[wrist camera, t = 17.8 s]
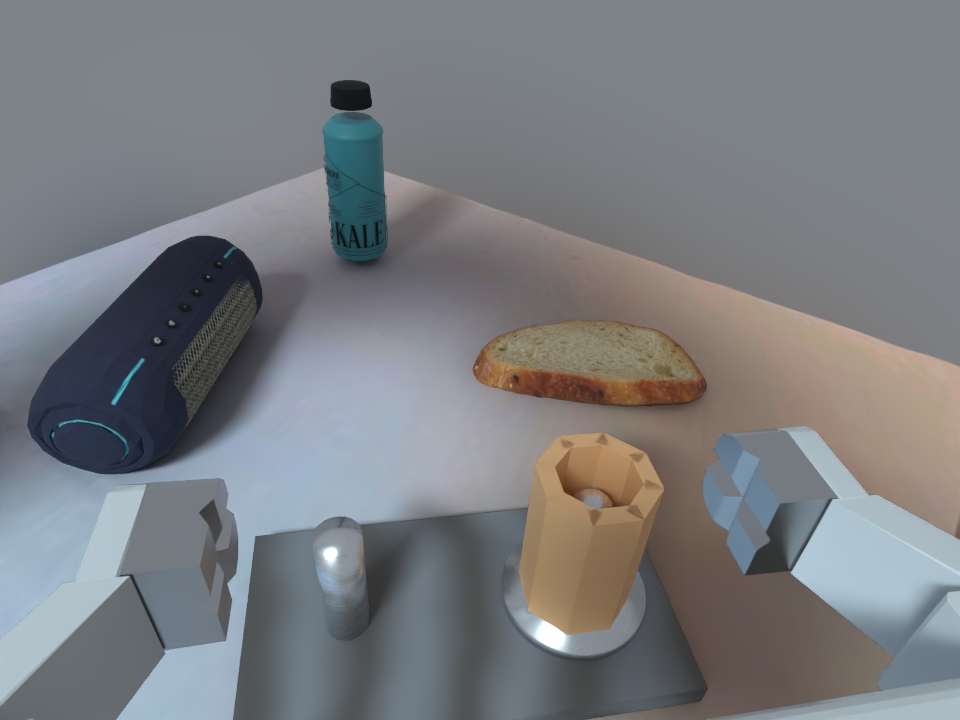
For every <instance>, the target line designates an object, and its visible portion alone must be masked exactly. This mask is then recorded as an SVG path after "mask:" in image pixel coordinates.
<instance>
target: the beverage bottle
mask: <svg viewBox="0 0 960 720" xmlns="http://www.w3.org/2000/svg"><path fill="white" fill-rule="evenodd" d="M330 101H331V106H332V107H334V108H336V109H339V110H347V111H357V110H364V109H367V108H370V107H371V106H372V99H371V94H370V87H369V85H368V84H367V83H365V82H361V81H354V80H343V81H337V82H334V83H333V84H332V85H331V100H330ZM322 130H323V135H324V146H325V161H326V167H325V170H326V172H327V179H326V180H327V183H326V184H327V185H328V194H329V202H328V203H329V204H328V205H330V206H329V207H330V212H329V213H330V216H331V229H330V232H331V231H332V232H331V233H332V236H331V239H333V243H331V244H333V246H332V247H334V250H335V252H336V254H337V255H338V256H340V257H342V258H344V259H348V260H354V261H364V260H371V259H374V258H377V257H379V256H381V255H382V254H383V253H384V252H385V249H386V247H387V245H388V244H387V242H388V241H386V230H387V229H386V227H387V226H386V221H387V217H386V212H385V192H384V167H383V138H382V135H383V129H382V127H381V125H380V124H379V123H378V122H377V121H376V120H375V119H373V118H372V117H371V116H370V115H367V114H364V113H358V112H345V113H339V114H336V115H334V116H333V117H331V118H330V119H329V120H328V121H327V122H326V123H325V125H324V126H323V129H322ZM325 175H326V174H325ZM325 178H326V177H325ZM386 204H387V203H386ZM330 216H329V218H330ZM329 222H330V219H329ZM387 232H388V230H387ZM387 237H388V236H387ZM387 240H388V239H387Z"/></svg>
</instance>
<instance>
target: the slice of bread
mask: <svg viewBox="0 0 960 720" xmlns="http://www.w3.org/2000/svg"><path fill="white" fill-rule="evenodd" d="M473 373H474V375H475V377H476V378H477V380H478V381H479V382H480V383H482V384H485V385H487V386H490V387H496V388H499V389H502V390H507V391H512V392H515V393H519V394H526V395H532V396H536V397H547V398H554V399H559V400H570V401H575V402H581V403H596V404H602V405H621V406H641V405H646V406H652V405H657V404H680V403H687V402H690V401H693V400H695V399H697V398H699V397H700V396H701V395H702V394H703V392H704V391H705V390H706V382H705V379H704V377H703V376H702V374H701V373H700V371H699V369H698V368H697V366H696V364H695V363H694V362H693V360H692V359H691V358H690V357H689V355H688V354H687V353H686V352H685V350H684V349H683V348H682V347H681V346H680V345H678V344H677V343H676V342H675V341H673V340H672V339H671V338H669V337H668V336H667V335H665V334H664V333H662V332H660V331H658V330H654V329H650V328H644V327H638V326H633V325H628V324H623V323H620V322H606V321H589V320H579V321H577V320H573V321H565V322H562V323H559V324H552V325H543V326H532V327H527V328H521V329H517V330H515V331H512V332H510V333H507V334H504V335H501V336H498V337H497V338H495V339H494V340H492V341H491V342H490V343H489V344H487V345H486V346H485V347H484V348H483V349H482V351H481V352H480V354H479V356H478V358H477V360H476V363H475V365H474V367H473Z"/></svg>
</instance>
